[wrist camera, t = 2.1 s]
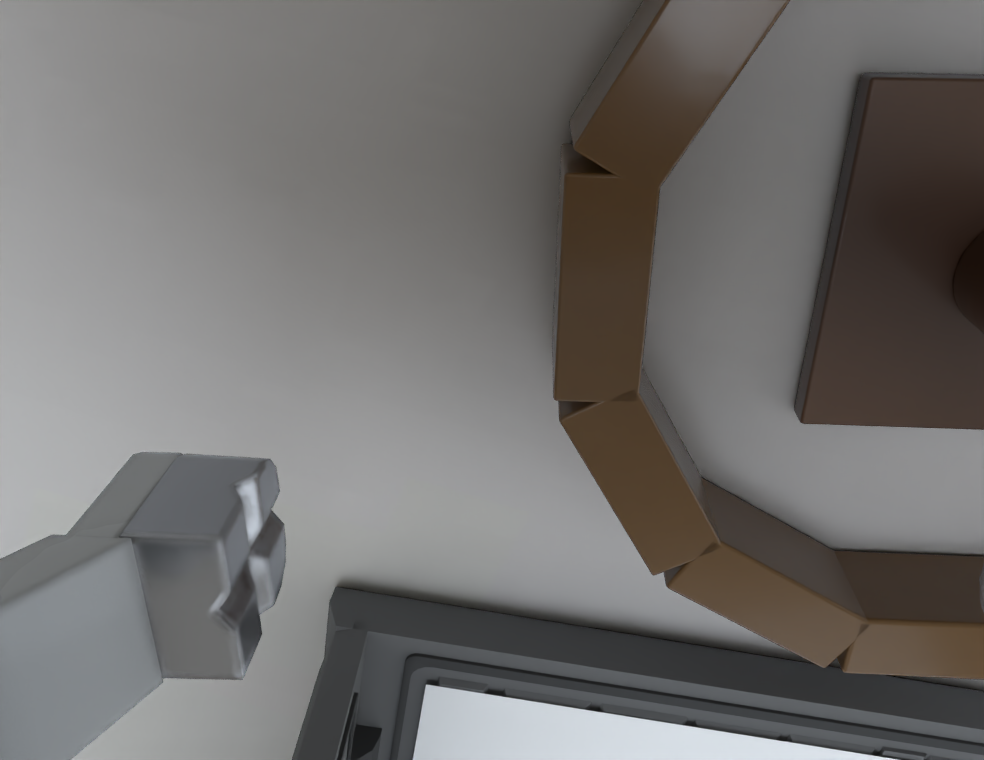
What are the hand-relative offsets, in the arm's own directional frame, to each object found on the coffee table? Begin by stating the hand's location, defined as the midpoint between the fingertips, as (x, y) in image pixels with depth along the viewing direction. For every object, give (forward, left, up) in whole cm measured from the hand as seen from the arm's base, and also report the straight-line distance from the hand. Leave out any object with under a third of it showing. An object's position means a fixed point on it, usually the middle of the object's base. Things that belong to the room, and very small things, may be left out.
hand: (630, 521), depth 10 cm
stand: (0, +8, -9) cm, 12 cm away
